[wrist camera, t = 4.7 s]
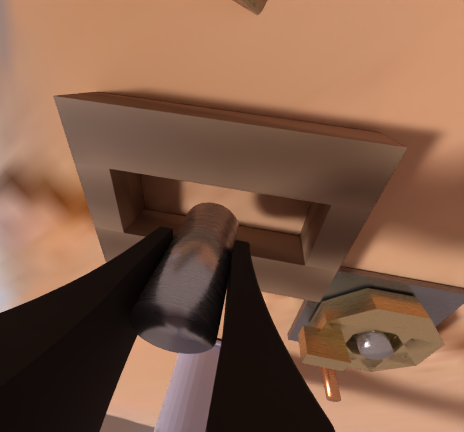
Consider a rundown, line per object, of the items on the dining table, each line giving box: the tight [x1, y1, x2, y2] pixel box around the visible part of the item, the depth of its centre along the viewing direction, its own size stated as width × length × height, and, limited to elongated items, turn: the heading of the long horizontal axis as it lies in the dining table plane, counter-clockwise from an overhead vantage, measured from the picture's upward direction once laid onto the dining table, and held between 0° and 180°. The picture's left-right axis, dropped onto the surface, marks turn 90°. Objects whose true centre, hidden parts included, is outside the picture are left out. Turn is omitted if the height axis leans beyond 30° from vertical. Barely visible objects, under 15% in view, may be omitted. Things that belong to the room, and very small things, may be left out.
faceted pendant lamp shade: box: [298, 288, 445, 372], centre depth 18 cm, size 9×10×4 cm
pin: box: [129, 203, 238, 354], centre depth 10 cm, size 3×3×6 cm
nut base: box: [288, 266, 464, 402], centre depth 18 cm, size 12×11×5 cm
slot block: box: [53, 92, 408, 302], centre depth 14 cm, size 11×16×3 cm
